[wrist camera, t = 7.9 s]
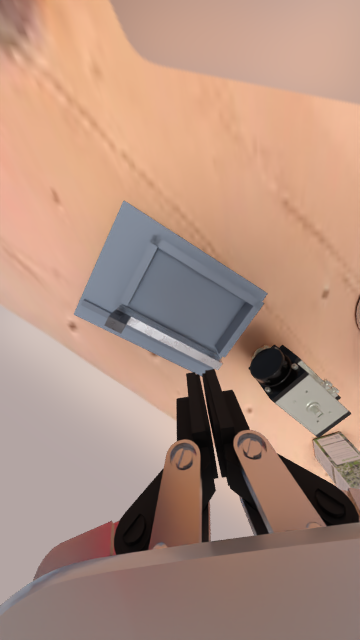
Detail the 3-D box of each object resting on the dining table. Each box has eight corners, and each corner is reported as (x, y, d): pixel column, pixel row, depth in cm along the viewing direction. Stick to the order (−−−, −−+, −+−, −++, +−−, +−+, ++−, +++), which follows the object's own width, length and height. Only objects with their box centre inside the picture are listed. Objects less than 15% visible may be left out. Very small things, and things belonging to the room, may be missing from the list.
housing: (264, 292, 28) (277, 297, 24) (205, 374, 32) (209, 388, 28) (125, 202, 23) (118, 193, 20) (76, 312, 27) (64, 320, 24)
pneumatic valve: (276, 385, 33) (332, 452, 22) (230, 346, 30) (267, 400, 19) (301, 363, 32) (374, 423, 21) (256, 321, 29) (312, 363, 18)
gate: (218, 354, 29) (229, 376, 24) (214, 360, 29) (223, 383, 24) (121, 304, 25) (108, 316, 20) (117, 311, 26) (104, 325, 21)
